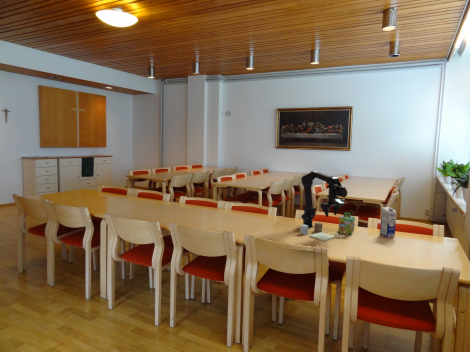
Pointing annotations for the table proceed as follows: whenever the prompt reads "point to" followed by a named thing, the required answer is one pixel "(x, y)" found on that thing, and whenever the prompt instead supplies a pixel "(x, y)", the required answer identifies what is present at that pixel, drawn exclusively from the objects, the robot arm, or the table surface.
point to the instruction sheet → (339, 235)
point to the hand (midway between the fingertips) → (331, 216)
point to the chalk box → (346, 224)
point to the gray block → (304, 229)
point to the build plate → (322, 236)
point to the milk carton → (388, 222)
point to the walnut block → (318, 227)
